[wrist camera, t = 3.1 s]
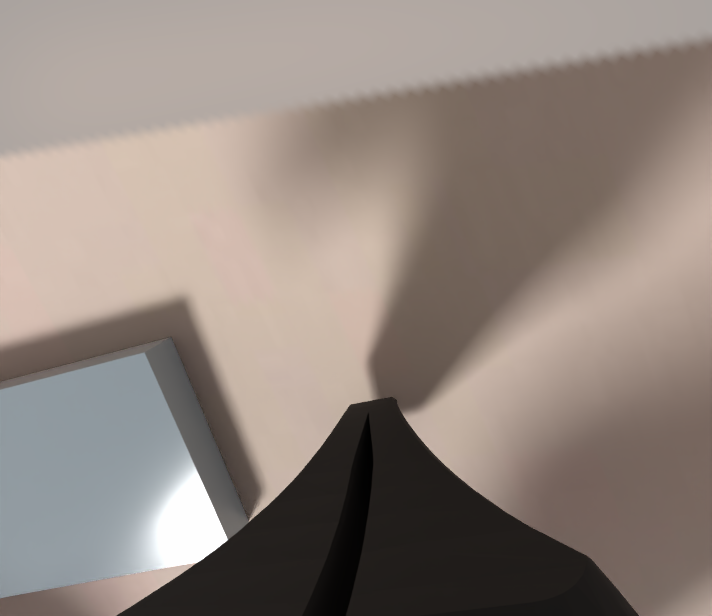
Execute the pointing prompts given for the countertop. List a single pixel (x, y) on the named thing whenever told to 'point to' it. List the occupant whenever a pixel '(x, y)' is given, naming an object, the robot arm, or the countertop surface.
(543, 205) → the countertop surface
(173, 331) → the countertop surface
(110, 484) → the tile
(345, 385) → the countertop surface
